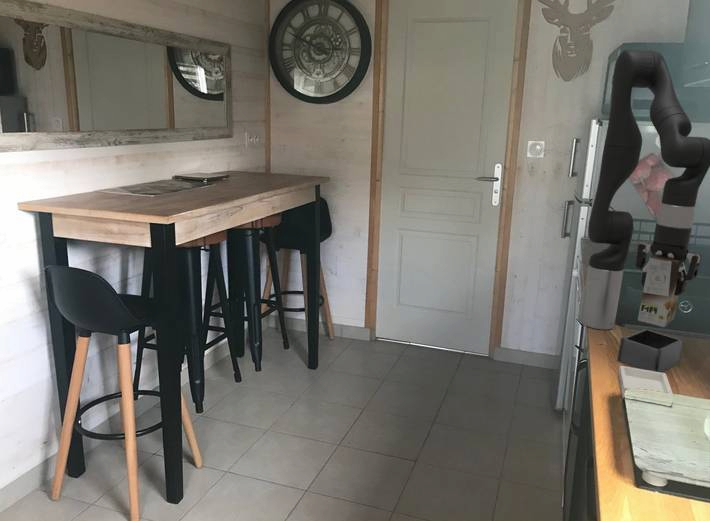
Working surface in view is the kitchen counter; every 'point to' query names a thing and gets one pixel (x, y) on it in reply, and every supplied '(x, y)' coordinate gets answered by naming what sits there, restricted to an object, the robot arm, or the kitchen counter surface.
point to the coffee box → (660, 291)
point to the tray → (643, 380)
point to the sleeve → (650, 350)
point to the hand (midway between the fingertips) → (661, 290)
